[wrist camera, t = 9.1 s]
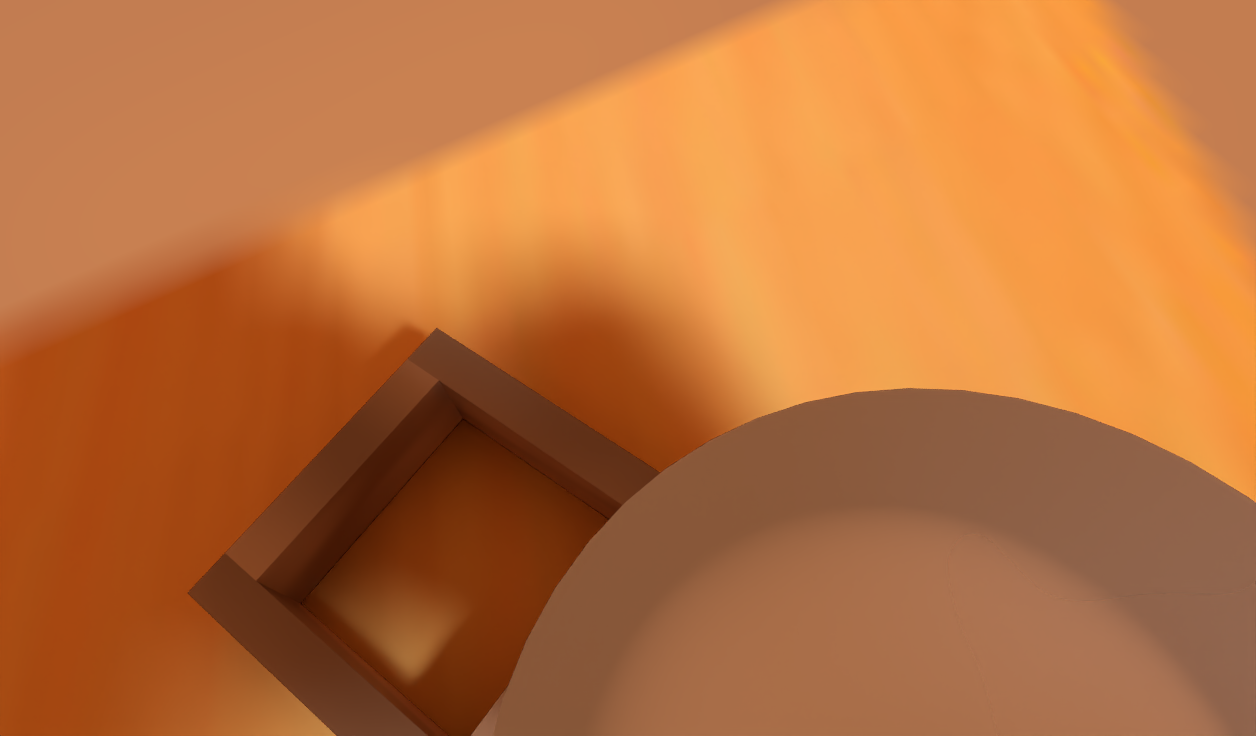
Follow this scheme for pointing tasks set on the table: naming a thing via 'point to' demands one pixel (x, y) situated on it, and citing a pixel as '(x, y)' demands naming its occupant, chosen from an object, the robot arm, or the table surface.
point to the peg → (906, 585)
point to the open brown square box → (355, 495)
